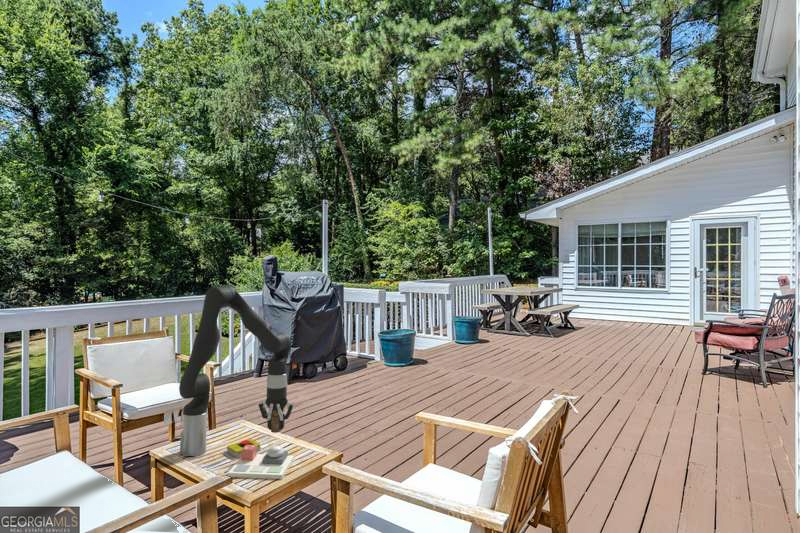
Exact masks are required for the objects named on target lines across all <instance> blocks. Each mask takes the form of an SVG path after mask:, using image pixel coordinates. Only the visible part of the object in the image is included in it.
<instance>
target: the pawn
mask: <svg viewBox="0 0 800 533" xmlns="http://www.w3.org/2000/svg"><path fill="white" fill-rule="evenodd" d="M279 428H280V416H279V413H278V410H273V411H272V415H271V430H270V432H271V433H275V434H276V433H280V432H281V431H282V430H279Z"/></svg>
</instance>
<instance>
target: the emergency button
mask: <svg viewBox="0 0 800 533" xmlns="http://www.w3.org/2000/svg"><path fill="white" fill-rule="evenodd" d="M245 445H257V453H258V452H260V451H263V450H264V448H263V447H262V446H261V443H259V442H258V441H256V440H254V439H252V438H248V439H245V440H241V441H239V442H234V443H231V444H228V445H226V446H227V448H226V451H224V452H222V453H221V454H222V455H224V456H225V457H226V458H228V459H229V460H231V461H233V460H236V459H240V458H241V457H242V449H243V448H244V446H245Z"/></svg>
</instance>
